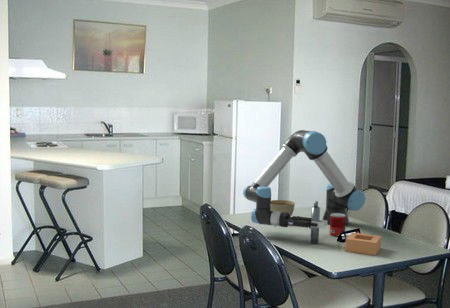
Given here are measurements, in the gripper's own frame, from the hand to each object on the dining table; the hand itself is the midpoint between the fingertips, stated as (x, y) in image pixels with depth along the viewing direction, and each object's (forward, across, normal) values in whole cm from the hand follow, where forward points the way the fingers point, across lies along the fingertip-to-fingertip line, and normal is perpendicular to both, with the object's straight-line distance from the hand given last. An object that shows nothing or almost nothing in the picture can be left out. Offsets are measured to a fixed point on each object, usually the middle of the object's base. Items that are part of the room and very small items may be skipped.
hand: (325, 224), depth 266 cm
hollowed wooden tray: (+19, 0, -10) cm, 21 cm away
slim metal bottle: (-5, 0, -10) cm, 11 cm away
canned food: (+1, -22, -10) cm, 24 cm away
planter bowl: (-37, -39, -10) cm, 55 cm away
